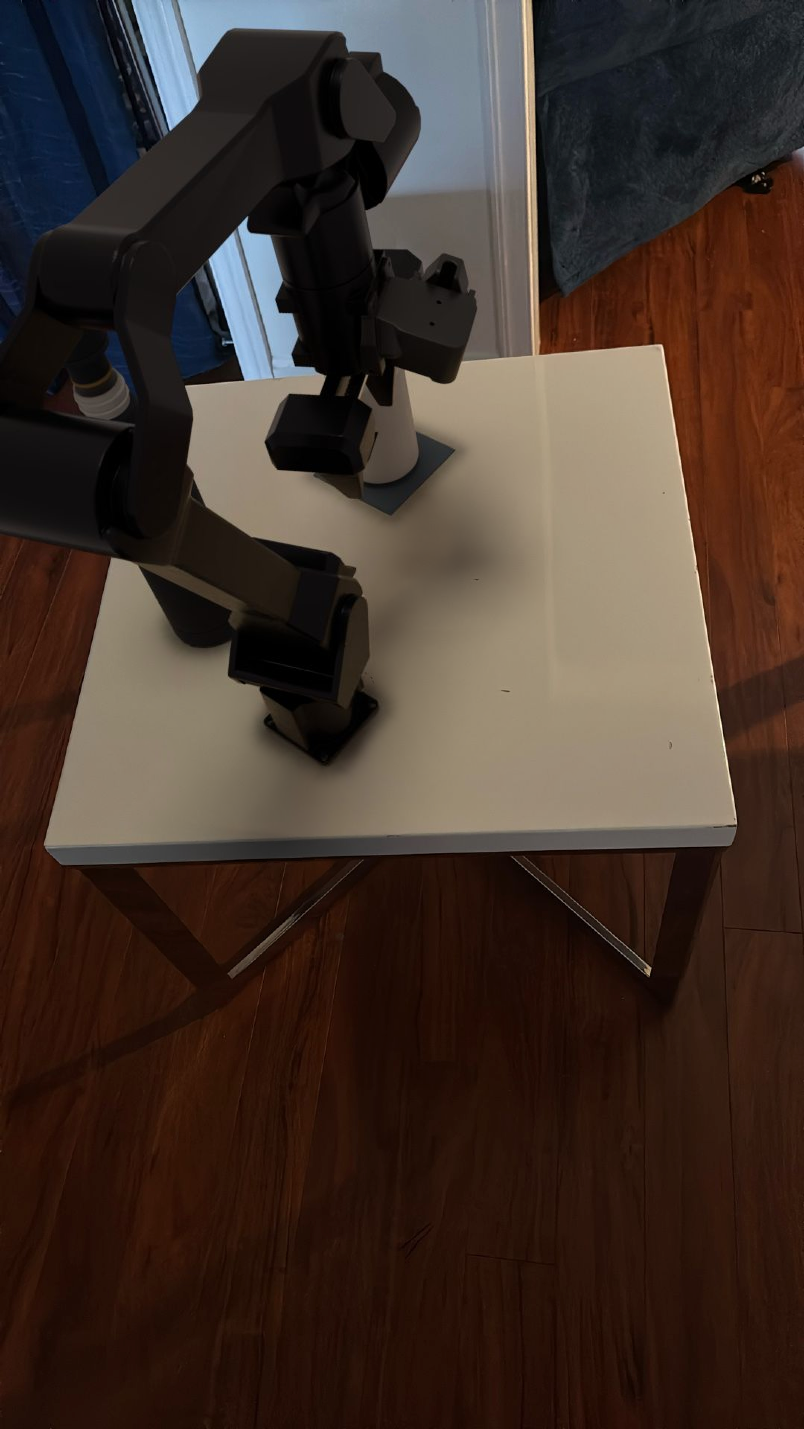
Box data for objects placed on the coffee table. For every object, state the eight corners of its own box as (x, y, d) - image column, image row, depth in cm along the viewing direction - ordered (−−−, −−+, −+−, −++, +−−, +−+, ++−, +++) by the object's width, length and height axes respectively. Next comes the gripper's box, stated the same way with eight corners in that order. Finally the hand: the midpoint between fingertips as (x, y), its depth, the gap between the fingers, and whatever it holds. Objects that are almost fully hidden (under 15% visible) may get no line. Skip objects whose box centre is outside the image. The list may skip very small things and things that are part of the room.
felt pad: (390, 515, 88) (390, 514, 88) (313, 475, 92) (313, 474, 92) (455, 450, 91) (455, 449, 91) (377, 414, 95) (377, 413, 95)
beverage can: (428, 476, 90) (409, 364, 80) (357, 498, 90) (329, 388, 80) (409, 429, 93) (389, 315, 83) (340, 449, 93) (312, 338, 83)
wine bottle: (242, 647, 83) (95, 334, 58) (165, 648, 84) (-12, 341, 59) (255, 584, 86) (121, 262, 61) (181, 586, 87) (20, 270, 62)
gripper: (423, 372, 56) (454, 559, 69) (487, 165, 65) (504, 365, 78) (231, 365, 58) (296, 545, 72) (318, 166, 67) (362, 360, 81)
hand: (371, 449), depth 75 cm, fingers open, 9 cm apart
